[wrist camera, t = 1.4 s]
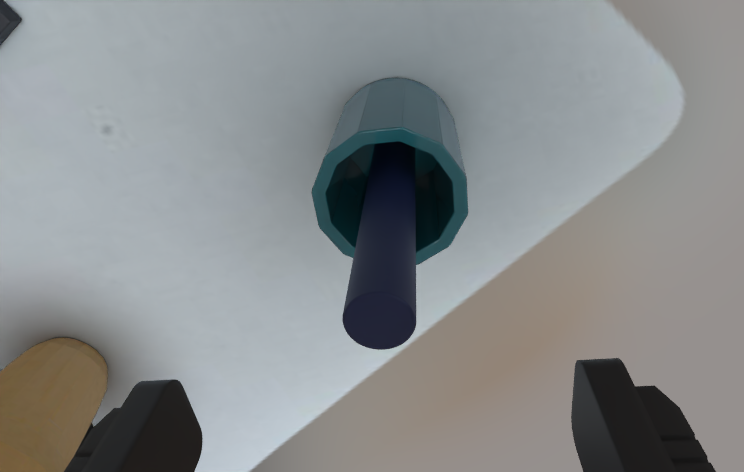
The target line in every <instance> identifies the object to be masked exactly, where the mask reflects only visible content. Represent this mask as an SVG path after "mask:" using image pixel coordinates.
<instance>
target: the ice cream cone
mask: <svg viewBox="0 0 744 472" xmlns="http://www.w3.org/2000/svg"><path fill="white" fill-rule="evenodd" d="M107 377H108V372H107V365H106V363H105V361H104V359H103V357H102V356H101V355H100V354H99V353H98V352H97V351H96V350H95V349H94V348H92V347H90V346H89V345H87V344H86V343H83V342H81V341H78V340H76V339H71V338H64V337H62V338H54V339H51V340H48V341H45V342H42V343H40V344H37V345H35V346H33V347H32V348H30V349H28V350H27V351H25V352H24V353H23V354H21V355H20V356H19V357H17V358H16V359H15V360H14V361H12V362H11V363H10V364H9V365H8V366H6V367H5V368H4V369H3V370H2V371H1V372H0V472H64V471H65V469H66V467H67V466H68V464H69V463H70V461H71V460H72V458H73V457H74V455H75V453H76V451H77V449H78V447H79V446H80V444H81V442H82V440H83V438H84V436H85V434H86V432H87V430H88V428H89V426H90V424H91V422H92V420H93V418H94V417H95V415H96V413H97V410H98V408H99V406H100V404H101V401H102V399H103V397H104V394H105V392H106V390H107Z"/></svg>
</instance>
